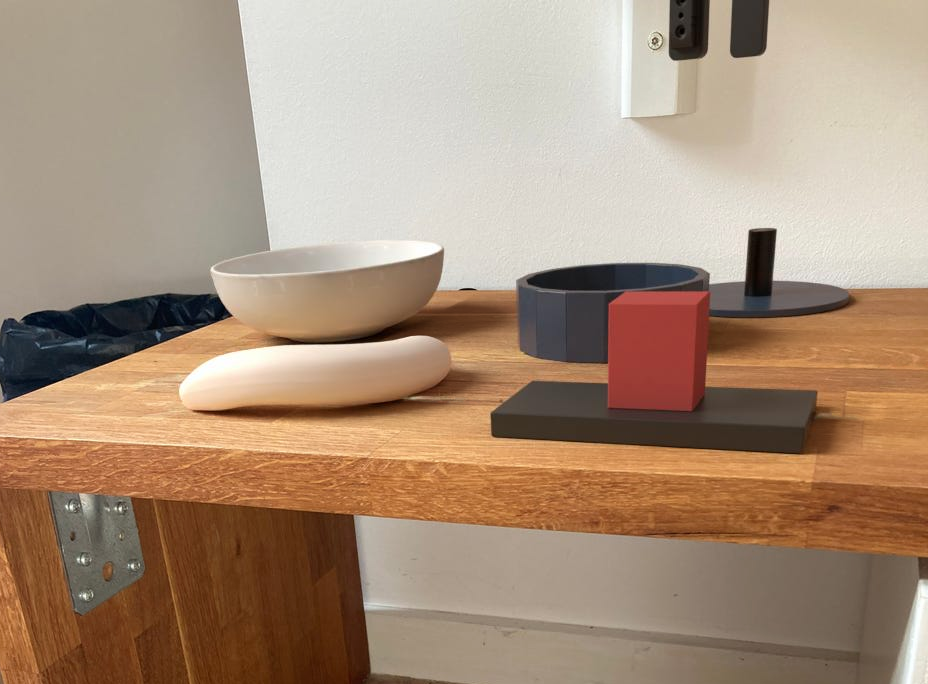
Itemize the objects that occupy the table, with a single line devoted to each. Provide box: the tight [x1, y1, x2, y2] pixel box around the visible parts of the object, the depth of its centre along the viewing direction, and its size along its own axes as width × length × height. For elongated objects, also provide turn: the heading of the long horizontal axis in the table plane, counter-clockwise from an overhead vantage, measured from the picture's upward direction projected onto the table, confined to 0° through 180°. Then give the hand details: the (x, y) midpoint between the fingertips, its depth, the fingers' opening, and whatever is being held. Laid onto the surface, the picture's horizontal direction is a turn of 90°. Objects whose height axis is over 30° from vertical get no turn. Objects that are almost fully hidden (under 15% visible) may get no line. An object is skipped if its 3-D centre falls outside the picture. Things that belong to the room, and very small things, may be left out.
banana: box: [178, 335, 453, 411], centre depth 73 cm, size 5×19×15 cm
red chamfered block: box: [607, 291, 710, 412], centre depth 60 cm, size 5×4×6 cm
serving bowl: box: [210, 239, 445, 344], centre depth 93 cm, size 21×21×7 cm
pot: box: [515, 262, 711, 365], centre depth 81 cm, size 15×15×6 cm
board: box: [490, 380, 819, 455], centre depth 62 cm, size 18×8×2 cm, turn 68°
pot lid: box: [709, 227, 851, 319], centre depth 92 cm, size 16×16×7 cm
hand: (719, 58), depth 64 cm, fingers open, 8 cm apart
